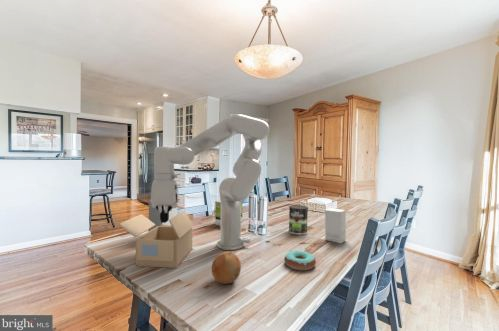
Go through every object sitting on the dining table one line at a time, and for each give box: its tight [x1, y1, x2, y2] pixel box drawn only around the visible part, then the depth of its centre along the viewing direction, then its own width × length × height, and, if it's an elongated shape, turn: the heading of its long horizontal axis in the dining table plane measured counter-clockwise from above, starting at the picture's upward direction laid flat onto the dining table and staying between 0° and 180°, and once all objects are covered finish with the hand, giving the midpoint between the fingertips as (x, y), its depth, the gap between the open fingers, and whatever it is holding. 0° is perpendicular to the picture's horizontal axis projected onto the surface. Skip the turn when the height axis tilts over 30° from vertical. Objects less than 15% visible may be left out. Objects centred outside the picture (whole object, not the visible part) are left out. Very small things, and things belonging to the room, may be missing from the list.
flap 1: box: [118, 213, 155, 238], centre depth 101 cm, size 1×16×8 cm
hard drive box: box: [147, 199, 179, 232], centre depth 125 cm, size 16×8×20 cm, turn 168°
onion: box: [211, 250, 242, 285], centre depth 81 cm, size 10×10×10 cm
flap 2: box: [169, 210, 194, 239], centre depth 99 cm, size 1×16×8 cm, turn 175°
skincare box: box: [324, 207, 347, 244], centre depth 123 cm, size 8×7×16 cm
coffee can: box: [288, 204, 309, 236], centre depth 136 cm, size 10×10×14 cm
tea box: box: [214, 199, 243, 227], centre depth 151 cm, size 15×10×15 cm, turn 144°
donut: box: [283, 250, 317, 271], centre depth 95 cm, size 12×12×4 cm
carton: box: [135, 225, 193, 269], centre depth 100 cm, size 16×20×10 cm
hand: (164, 221), depth 100 cm, fingers closed
